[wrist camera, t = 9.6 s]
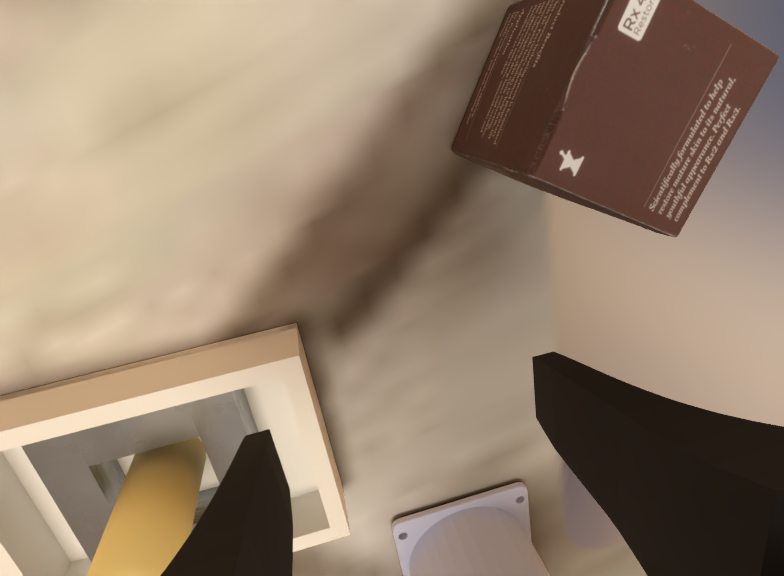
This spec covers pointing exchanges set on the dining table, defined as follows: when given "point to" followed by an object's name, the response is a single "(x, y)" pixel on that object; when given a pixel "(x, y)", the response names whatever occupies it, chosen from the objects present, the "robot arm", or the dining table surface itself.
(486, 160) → the box
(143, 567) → the peg
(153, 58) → the dining table surface
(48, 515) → the tray
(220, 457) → the socket plate
